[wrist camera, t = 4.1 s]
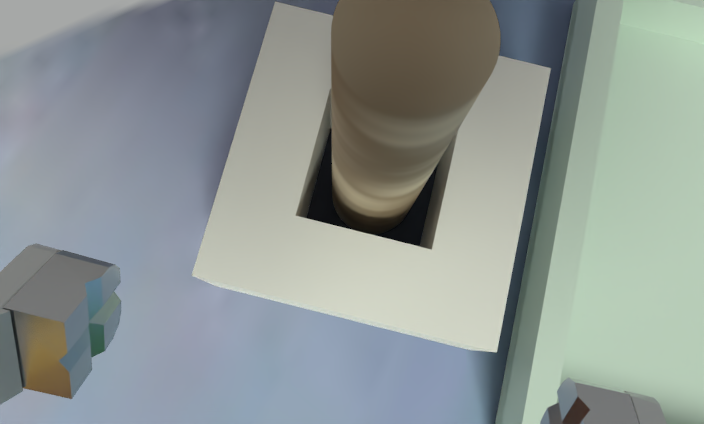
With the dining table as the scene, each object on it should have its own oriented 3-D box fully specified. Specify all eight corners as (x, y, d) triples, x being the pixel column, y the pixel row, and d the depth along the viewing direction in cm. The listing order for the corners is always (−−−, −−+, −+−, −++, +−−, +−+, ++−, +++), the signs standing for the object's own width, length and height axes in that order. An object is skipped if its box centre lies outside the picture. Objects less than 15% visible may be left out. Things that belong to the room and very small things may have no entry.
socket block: (516, 110, 25) (550, 68, 21) (468, 349, 23) (496, 352, 19) (284, 54, 25) (275, 1, 21) (215, 286, 23) (191, 275, 19)
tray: (800, 57, 26) (860, 21, 23) (756, 522, 22) (821, 551, 19) (573, 3, 26) (604, -40, 23) (489, 454, 22) (513, 472, 19)
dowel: (419, 167, 24) (514, -20, 12) (402, 242, 24) (482, 132, 11) (342, 148, 24) (354, -59, 12) (323, 223, 24) (311, 90, 11)
